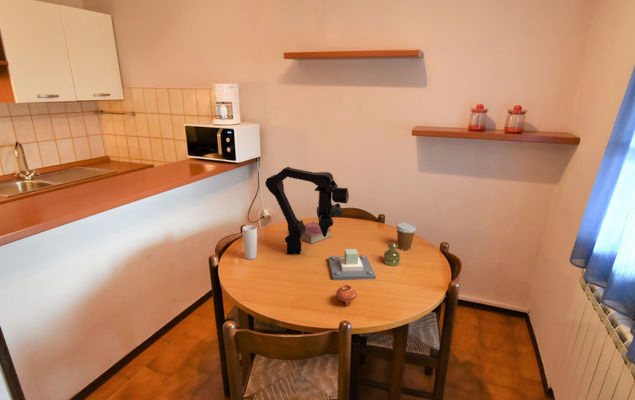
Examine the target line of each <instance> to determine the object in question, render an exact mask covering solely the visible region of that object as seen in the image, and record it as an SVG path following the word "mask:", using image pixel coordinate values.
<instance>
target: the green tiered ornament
mask: <svg viewBox="0 0 635 400" xmlns="http://www.w3.org/2000/svg"><path fill="white" fill-rule="evenodd" d="M387 247H388V249H387V250H386V251H384V252H383V263H384V264H385V265H387V266H390V267H396V266H398V265H400V261H401V254H400V252H398V250H397V249H399V248H398V247H399V245H398V243H396V242H394V241H393V242H388V243H387Z"/></svg>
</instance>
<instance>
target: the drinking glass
mask: <svg viewBox="0 0 635 400" xmlns="http://www.w3.org/2000/svg"><path fill="white" fill-rule="evenodd" d="M241 231H242V233H241V234H242V242H243V250H244V257H245V259H247V260H254V259H256V258H257V255H258V254H257V253H258V250H257V249H258V226H256V225H253V224H247V225H244V226H243V227H242V229H241Z"/></svg>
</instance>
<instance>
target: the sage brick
mask: <svg viewBox="0 0 635 400" xmlns="http://www.w3.org/2000/svg"><path fill="white" fill-rule="evenodd" d="M344 256H345V258H344V259H345V262H346V265H354V264H358V256H359V252H358V250H357V248H345V249H344Z"/></svg>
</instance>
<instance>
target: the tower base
mask: <svg viewBox="0 0 635 400" xmlns="http://www.w3.org/2000/svg"><path fill="white" fill-rule="evenodd" d="M344 258H345V255H343V256H335V255H331V256H328V258H327V261H328V264H329V268H330V272H331V276H332V280H333V281H344V280H345V281H349V280H376V277H377V275H376V273H375V271H374V270H373V267H372V265H371V262H370V261H369V259H368V257H367V255H358V264H354V265H346V262H345V259H344Z"/></svg>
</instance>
